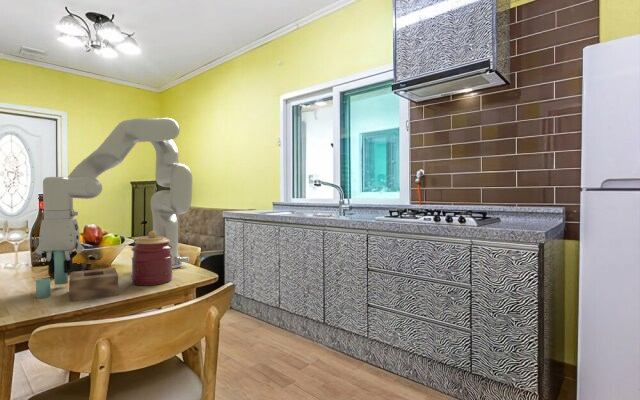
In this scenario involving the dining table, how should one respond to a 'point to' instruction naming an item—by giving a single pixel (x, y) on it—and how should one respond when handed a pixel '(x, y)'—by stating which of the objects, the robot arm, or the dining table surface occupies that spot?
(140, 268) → the canister
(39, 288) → the short dowel
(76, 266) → the bolt
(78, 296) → the socket block
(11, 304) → the dining table surface
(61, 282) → the tall dowel
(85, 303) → the dining table surface
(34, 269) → the dining table surface
